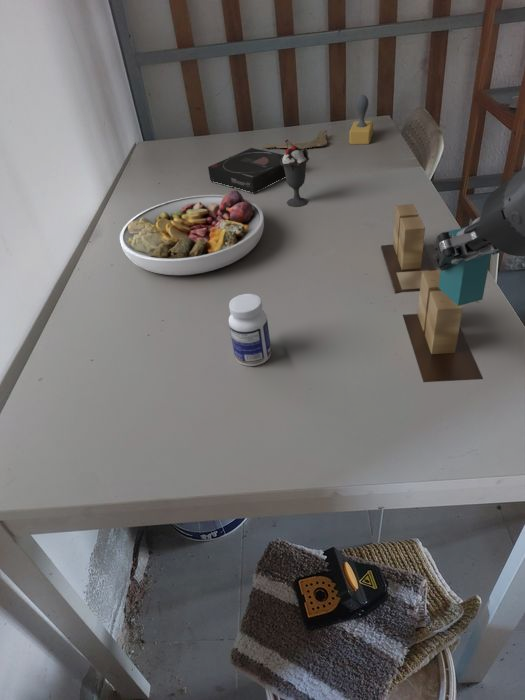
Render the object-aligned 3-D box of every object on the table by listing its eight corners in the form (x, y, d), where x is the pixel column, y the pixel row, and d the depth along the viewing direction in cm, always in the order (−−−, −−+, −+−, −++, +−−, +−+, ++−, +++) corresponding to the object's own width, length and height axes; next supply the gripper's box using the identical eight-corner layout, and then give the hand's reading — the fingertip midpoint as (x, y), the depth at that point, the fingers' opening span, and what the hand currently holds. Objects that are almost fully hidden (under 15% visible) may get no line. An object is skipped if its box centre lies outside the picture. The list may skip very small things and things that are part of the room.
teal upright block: (461, 281, 68) (470, 225, 63) (482, 299, 64) (493, 241, 59) (438, 287, 67) (445, 231, 62) (457, 306, 64) (466, 248, 59)
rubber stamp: (369, 144, 149) (370, 99, 142) (349, 144, 151) (349, 100, 143) (372, 133, 156) (374, 90, 149) (353, 133, 158) (354, 90, 150)
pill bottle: (251, 339, 83) (243, 287, 77) (279, 351, 80) (273, 298, 74) (227, 359, 80) (217, 306, 74) (255, 372, 77) (247, 318, 71)
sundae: (279, 207, 121) (274, 142, 112) (287, 196, 126) (283, 132, 117) (306, 209, 119) (303, 142, 110) (314, 197, 124) (311, 132, 115)
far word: (421, 244, 102) (426, 202, 96) (443, 292, 88) (449, 247, 83) (380, 247, 102) (382, 206, 97) (395, 295, 89) (398, 250, 83)
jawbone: (337, 146, 152) (337, 139, 150) (270, 160, 149) (269, 153, 148) (326, 135, 158) (326, 128, 157) (262, 148, 155) (261, 141, 154)
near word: (452, 314, 83) (460, 267, 78) (482, 382, 71) (494, 332, 65) (402, 317, 84) (406, 271, 78) (422, 385, 71) (429, 336, 66)
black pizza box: (298, 171, 138) (297, 156, 136) (254, 194, 129) (252, 178, 127) (254, 161, 148) (253, 147, 145) (210, 181, 139) (208, 166, 136)
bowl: (186, 300, 94) (177, 262, 89) (99, 255, 112) (87, 221, 107) (294, 235, 110) (292, 200, 105) (203, 204, 127) (197, 173, 122)
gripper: (596, 151, 49) (496, 219, 66) (463, 181, 47) (394, 243, 64) (622, 224, 49) (514, 274, 66) (488, 258, 47) (412, 300, 64)
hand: (455, 259), depth 65 cm, fingers closed on teal upright block, 3 cm apart
